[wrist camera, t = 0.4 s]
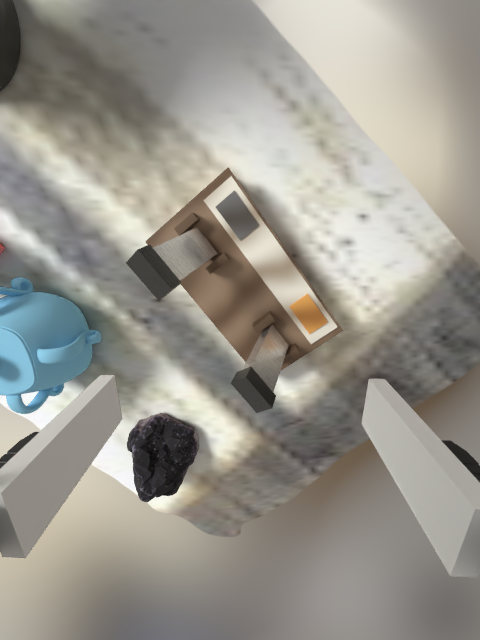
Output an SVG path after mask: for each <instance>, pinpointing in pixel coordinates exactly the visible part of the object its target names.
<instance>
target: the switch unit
mask: <svg viewBox="0 0 480 640" xmlns="http://www.w3.org/2000/svg"><path fill="white" fill-rule="evenodd" d="M197 227H198V229H199V230H200V231H201V233H202V234H203V235H204V236H205V238H206V239H207V240H208V242H209V243H210V244H211V245H212V247H213V248H214V249H215V251H216V252H217V254H216V255H215V256H214V257H213V258H211V259H210V260H209V261H208V262H206V263H205V264H203V265H202V266H201V267H199V268H198V269H197V270H195V271H194V272H192V273H191V274H190V275H188V276H187V277H186V278H184V279H183V280H181V282H182V283H181V285H182V286H183V287H184V289H185V290H186V291H187V292H188V293H189V295H190V296H191V297H192V298H193V299H194V301H195V302H196V303H197V304H198V305H199V307H200V308H201V309H202V310H203V311H204V313H205V314H206V315H207V316H208V317H209V319H210V320H211V321H212V322H213V323H214V325H215V326H216V327H217V328H218V329H219V331H220V332H221V333H222V334H223V335H224V337H225V338H226V339H227V340H228V341H229V343H230V344H231V345H232V346H233V347H234V349H235V350H236V351H237V352H238V353H239V355H240V356H241V357H242V358H243V359H244V361H245V362H246V361H247V359H248V357H249V356H250V354H251V352H252V350H253V348H254V346H255V344H256V342H257V340H258V338H259V336H260V334H261V332H262V330H263V329H264V328H265V327H267V326H269V325H271V324H273V326H274V327H275V328H276V330H277V331H278V332H279V334H280V335H281V336H282V337H283V339H284V340H285V341H286V343H287V344H288V345H289V346H288V349H287V352H286V355H285V358H284V361H283V364H282V367H281V370H282V369H284V368H285V367H287V366H289V365H290V364H292V363H293V362H295V361H296V360H298V359H299V358H301V357H302V356H304V355H306V354H307V353H309V352H310V351H312V350H313V349H315V348H316V347H318V346H319V345H321V344H323V343H324V342H326V341H327V340H329V339H330V338H332V337H333V336H335V335H337V334H338V333H340V332H341V331H343V330H342V329H341V327H340V326H339V324H338V323H337V322H336V320H335V319H334V317H333V316H332V314H331V313H330V312H329V310H328V309H327V307H326V306H325V304H324V303H323V302H322V300H321V299H320V297H319V296H318V294H317V293H316V292H315V290H314V289H313V287H312V286H311V285H310V283H309V282H308V280H307V279H306V277H305V276H304V275H303V273H302V272H301V270H300V269H299V267H298V266H297V265H296V263H295V262H294V260H293V259H292V257H291V256H290V255H289V253H288V252H287V250H286V249H285V247H284V246H283V245H282V243H281V242H280V240H279V239H278V238H277V236H276V235H275V233H274V232H273V230H272V229H271V228H270V226H269V225H268V223H267V222H266V220H265V219H264V218H263V216H262V215H261V213H260V212H259V210H258V209H257V208H256V206H255V205H254V203H253V202H252V200H251V199H250V198H249V196H248V195H247V193H246V192H245V191H244V189H243V188H242V186H241V185H240V183H239V182H238V181H237V179H236V178H235V176H234V175H233V173H232V172H231V171H230V169H229V168H227V169H226V170H225V171H224V172H223V173H221V174H220V175H219V176H218V177H217V178H216V179H215V180H214V181H213V182H211V183H210V184H209V185H208V186H207V187H206V188H205V189H204V190H202V191H201V192H200V193H199V194H198V195H197V196H196V197H195V198H194V199H192V200H191V201H190V202H189V203H188V204H187V205H186V206H185V207H184V208H182V209H181V210H180V211H179V212H178V213H177V214H176V215H175V216H174V217H172V218H171V219H170V220H169V221H168V222H167V223H166V224H165V225H164V226H162V227H161V228H160V229H159V230H158V231H157V232H156V233H155V234H153V235H152V236H151V237H150V238H149V239H148V240H147V241H146V243H147V244H148V245H151V246H152V248H153V247H155V246H158V245H160V244H162V243H164V242H166V241H169V240H171V239H173V238H175V237H177V236H180V235H182V234H184V233H186V232H188V231H191V230H193V229H195V228H197ZM281 370H280V371H281Z"/></svg>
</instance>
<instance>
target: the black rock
mask: <svg viewBox="0 0 480 640" xmlns="http://www.w3.org/2000/svg"><path fill="white" fill-rule="evenodd" d="M198 442H199V438H198V434H197V432H196V430H195V429H194V428H193V427H190V426H186V425H184V424H183V423H181V422H180V421H179V420H176V419H173V418H171V417H170V416H168V415H166V414H164V413H160V414H156V415H154V416H150V417H149V418H146V419H142V420H139V422H138V423H137V425H136V426H135V428H133V429H132V430H131V432H130V434H129V437H128V442H127V448H128V451H130V452H132V457H133V472H134V483H135V486H136V490H137V492H138V496H139V498H140V499H141V500H142V501H144V502H149V501H150V500H151V499H153V498H154V497H160V496H162V495H164V496H165V495H166V496H170V495H173V494H175V493H176V492H177V491H178V489H179V487H180V485H181V484H182V482H183V479H184V476H185V474H186V472H187V469H188V467H189V466H190V465H191V464H192V463H193V462H194V458H195V456H196V453H197V451H198V449H199V445H198Z"/></svg>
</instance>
